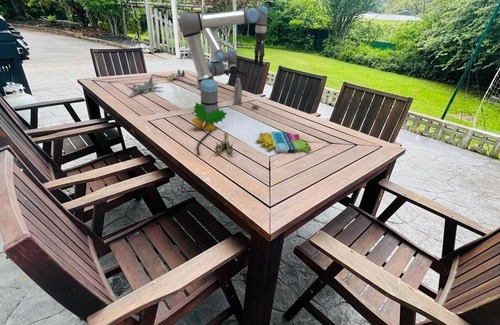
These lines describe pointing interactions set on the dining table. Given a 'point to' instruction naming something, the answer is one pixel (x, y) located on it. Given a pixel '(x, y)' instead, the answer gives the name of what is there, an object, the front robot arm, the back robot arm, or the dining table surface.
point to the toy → (174, 76)
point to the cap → (255, 107)
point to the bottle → (237, 92)
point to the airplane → (143, 87)
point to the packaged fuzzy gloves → (283, 142)
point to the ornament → (207, 117)
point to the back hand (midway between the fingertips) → (236, 74)
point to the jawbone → (224, 145)
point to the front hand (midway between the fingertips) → (258, 65)
